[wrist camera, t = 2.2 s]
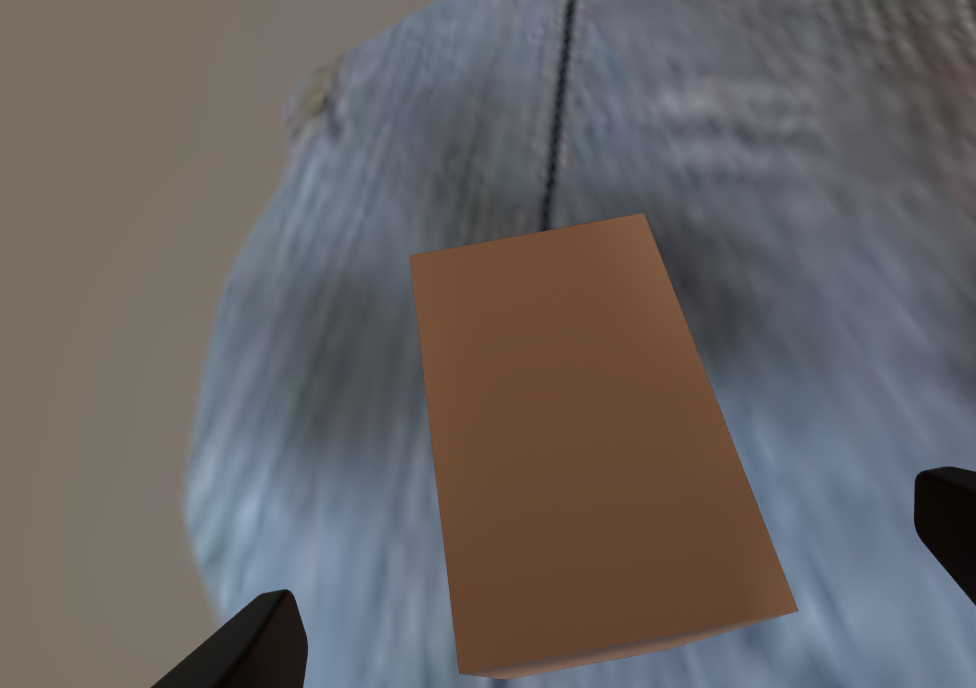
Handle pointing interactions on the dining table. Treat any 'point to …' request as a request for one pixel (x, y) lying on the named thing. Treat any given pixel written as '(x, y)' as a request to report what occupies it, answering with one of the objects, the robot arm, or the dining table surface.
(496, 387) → the brown rectangular block
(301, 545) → the dining table surface
